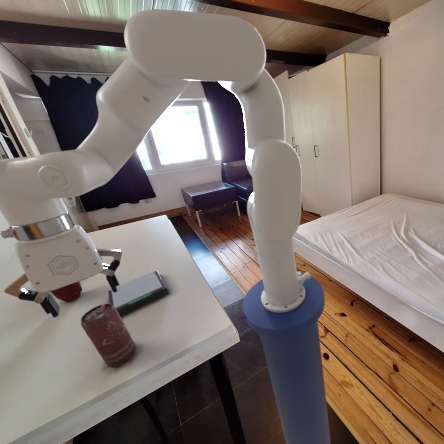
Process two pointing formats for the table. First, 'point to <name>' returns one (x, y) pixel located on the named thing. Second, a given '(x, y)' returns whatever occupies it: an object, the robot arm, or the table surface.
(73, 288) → the mug
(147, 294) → the scale
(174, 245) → the table surface
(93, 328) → the can
